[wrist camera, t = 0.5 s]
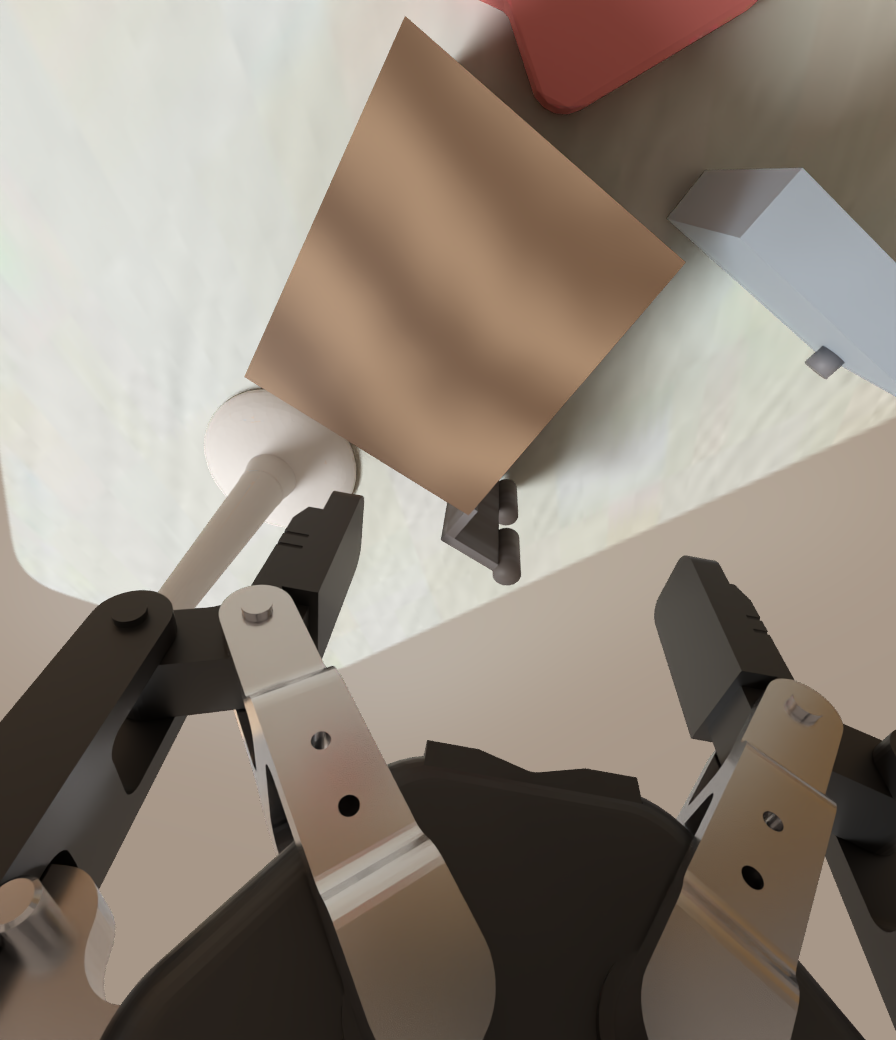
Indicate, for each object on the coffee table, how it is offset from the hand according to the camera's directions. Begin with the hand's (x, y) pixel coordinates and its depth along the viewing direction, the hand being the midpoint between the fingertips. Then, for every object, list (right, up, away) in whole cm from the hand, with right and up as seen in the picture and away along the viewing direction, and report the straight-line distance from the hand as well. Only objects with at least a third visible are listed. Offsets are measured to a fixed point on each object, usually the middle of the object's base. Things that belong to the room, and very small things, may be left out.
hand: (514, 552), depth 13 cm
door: (+19, +17, +20) cm, 32 cm away
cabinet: (+1, +14, +23) cm, 28 cm away
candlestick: (-16, +6, +31) cm, 35 cm away
